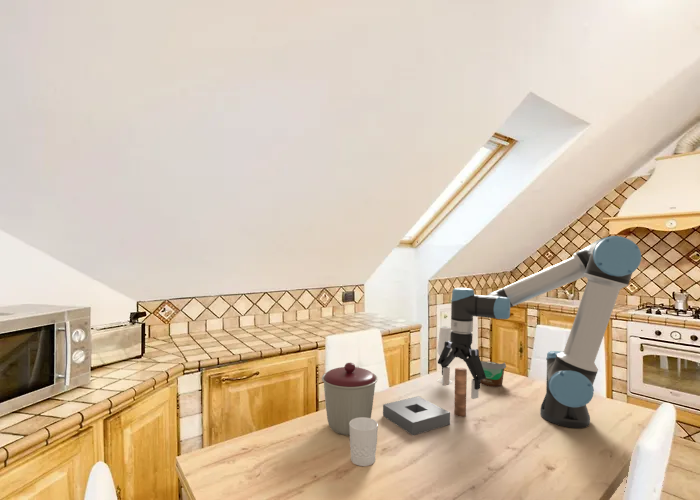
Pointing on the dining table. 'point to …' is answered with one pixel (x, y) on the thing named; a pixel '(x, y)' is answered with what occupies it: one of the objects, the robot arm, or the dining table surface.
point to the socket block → (416, 415)
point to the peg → (460, 392)
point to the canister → (348, 395)
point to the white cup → (363, 440)
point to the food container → (493, 374)
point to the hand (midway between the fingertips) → (459, 391)
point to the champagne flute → (443, 337)
